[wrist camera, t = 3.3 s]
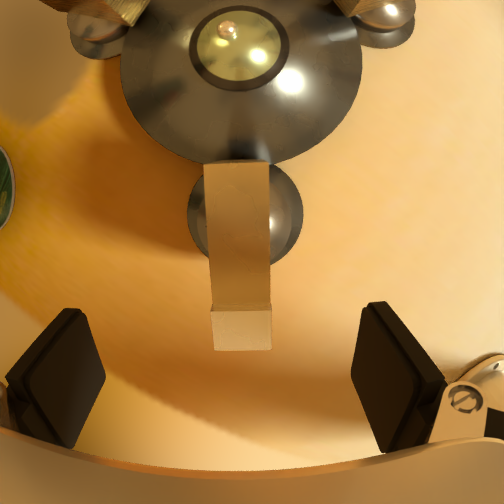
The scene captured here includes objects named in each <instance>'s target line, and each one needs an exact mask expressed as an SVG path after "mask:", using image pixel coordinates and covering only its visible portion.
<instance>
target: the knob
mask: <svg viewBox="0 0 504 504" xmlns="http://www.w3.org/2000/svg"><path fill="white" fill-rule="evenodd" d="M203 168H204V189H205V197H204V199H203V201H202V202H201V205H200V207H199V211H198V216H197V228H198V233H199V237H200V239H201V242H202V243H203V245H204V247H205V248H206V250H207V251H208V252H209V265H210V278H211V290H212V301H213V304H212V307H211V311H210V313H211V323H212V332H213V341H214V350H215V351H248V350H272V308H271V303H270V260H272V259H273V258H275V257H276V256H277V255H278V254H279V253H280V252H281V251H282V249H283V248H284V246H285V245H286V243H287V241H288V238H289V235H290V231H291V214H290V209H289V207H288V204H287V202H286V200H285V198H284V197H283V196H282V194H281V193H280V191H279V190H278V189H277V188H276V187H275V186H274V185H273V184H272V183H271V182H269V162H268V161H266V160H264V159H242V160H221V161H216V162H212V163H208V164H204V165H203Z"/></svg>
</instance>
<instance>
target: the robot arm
mask: <svg viewBox="0 0 504 504" xmlns="http://www.w3.org/2000/svg"><path fill="white" fill-rule="evenodd" d="M5 378H6V380H7V382H8V384H9V385H8V387H7V388H6V386H5V385H4V384H3V383H2V382H0V504H504V355H497V356H493V357H491V358H488V359H486V360H484V361H483V362H481V363H479V364H478V365H476V366H475V367H474V368H472V369H471V370H470V371H468V372H467V373H466V374H465V375H464V376H463V377H461V378H460V379H459V380H458V381H457V382H454V383H451V384H450V385H448V384H447V383H446V381H445V380H444V379H445V377H444V376H443V375H442V373H441V372H440V370H439V369H438V368H437V366H436V365H435V364H434V362H433V361H432V360H431V358H430V357H429V356H428V354H427V353H426V352H425V350H424V349H423V348H422V346H421V345H420V344H419V342H418V341H417V340H416V339H415V337H414V336H413V335H412V333H411V332H410V331H409V330H408V328H407V327H406V326H405V325H404V323H403V322H402V321H401V319H400V318H399V317H398V316H397V314H396V313H395V312H394V311H393V310H392V308H391V307H390V306H389V305H388V303H387V302H385V301H381V302H370V303H368V305H367V307H364V308H363V309H362V313H361V319H360V325H359V331H358V337H357V342H356V347H355V352H354V357H353V362H352V367H351V378H352V381H353V384H354V386H355V389H356V391H357V393H358V396H359V398H360V401H361V403H362V406H363V408H364V411H365V413H366V416H367V418H368V421H369V423H370V426H371V429H372V431H373V434H374V436H375V439H376V442H377V444H378V447H379V449H380V451H381V453H386V454H382V455H378V456H373V457H368V458H363V459H358V460H352V461H346V462H340V463H334V464H328V465H320V466H313V467H304V468H294V469H282V470H265V471H205V470H188V469H175V468H166V467H157V466H150V465H143V464H136V463H130V462H124V461H119V460H114V459H109V458H103V457H99V456H95V455H90V454H86V453H82V452H78V451H74V450H71V449H72V448H73V447H74V446H75V443H76V441H77V439H78V436H79V434H80V432H81V430H82V428H83V426H84V424H85V421H86V419H87V417H88V415H89V413H90V411H91V409H92V407H93V405H94V402H95V400H96V398H97V396H98V394H99V392H100V390H101V388H102V386H103V384H104V382H105V378H106V375H105V370H104V368H103V365H102V362H101V360H100V357H99V354H98V351H97V348H96V345H95V343H94V340H93V336H92V333H91V330H90V327H89V324H88V321H87V317H86V315H85V314H84V313H82V311H81V310H80V309H76V308H65V309H63V310H62V311H61V312H60V313H59V314H58V316H57V317H56V318H55V319H54V320H53V321H52V322H51V323H50V324H49V325H48V326H47V328H46V329H45V330H44V331H43V332H42V333H41V334H40V335H39V336H38V338H37V339H36V340H35V341H34V342H33V343H32V344H31V346H30V347H29V348H28V349H27V350H26V352H25V353H24V354H23V355H22V356H21V357H20V359H19V360H18V361H17V362H16V363H15V365H14V366H13V367H12V368H11V370H10V371H9V372H8V373H7V375H6V376H5Z"/></svg>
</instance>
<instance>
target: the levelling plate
mask: <svg viewBox="0 0 504 504" xmlns="http://www.w3.org/2000/svg"><path fill="white" fill-rule="evenodd" d="M414 25H415V19H414V16H413V17H412V18H411V19H410V20H409V21H408V22H406V23H405V24H404V25H402V26H401V27H400V28H398V29H397V30H395V31H393V32H390V33H374V32H370V31H367V30H364V29H362V28H360V27H358V26H356V25H355V24H353V22H352V20H351V18H350V17H348V18H346V16H345V15H344V14H343V12H342V11H341V10H340V8H339V7H338V6H337V5H336V3H335V2H334V1H333V0H151V1H150V2H149V4H148V5H147V6H146V8H145V9H144V11H143V12H142V14H141V15H140V17H139V18H138V20H137V21H136V23H135V24H134V26H133V27H129V30H128V32H127V34H126V35H124V36H123V37H121V38H120V39H118V40H116V41H113V42H110V43H107V44H100V45H98V44H91V43H89V42H87V41H85V40H83V39H82V38H80V37H78V36H76V35H75V34H73V33H72V32H71V31H70V38H71V42H72V44H73V47H74V48H75V50H76V51H77V52H78V53H80V54H81V55H83V56H85V57H87V58H91V59H108V58H112V57H115V56H118V55H120V54H121V61H120V75H121V83H122V88H123V92H124V95H125V98H126V101H127V104H128V106H129V108H130V110H131V111H132V113H133V115H134V117H135V118H136V120H137V121H138V122H139V124H140V125H141V126H142V128H143V129H144V130H145V131H146V132H147V133H148V134H149V135H150V136H151V137H152V138H153V139H154V140H156V141H157V142H158V143H160V144H161V145H162V146H164V147H165V148H167V149H168V150H170V151H172V152H174V153H175V154H177V155H179V156H182V157H184V158H186V159H189V160H191V161H194V162H198V163H201V164H208V163H212V162H216V161H221V160H242V159H264V160H266V161H268V162H269V182H271V183H272V184H273V185H274V186H275V187H276V188H277V189H278V190H279V191H280V193H281V194H282V196H283V197H284V198H285V200H286V202H287V204H288V207H289V209H290V214H291V231H290V235H289V238H288V241H287V243H286V245H285V246H284V248H283V249H282V251H281V252H280V253H279V254H278V255H277V256H276V257H275V258H273V259H272V260H270V265H272V264H274V263H275V262H277V261H278V260H280V259H281V258H282V257H284V256H285V255H286V254H287V253H288V252H289V251H290V250H291V248H292V247H293V245H294V244H295V242H296V241H297V239H298V237H299V234H300V231H301V228H302V223H303V205H302V200H301V197H300V194H299V192H298V190H297V188H296V186H295V184H294V183H293V181H292V180H291V179H290V177H289V176H288V175H287V174H286V173H285V172H283V171H282V170H281V169H280V168H278V167H277V166H275V165H274V164H276V163H279V162H282V161H285V160H288V159H291V158H293V157H295V156H297V155H299V154H301V153H303V152H305V151H307V150H309V149H310V148H312V147H313V146H315V145H317V144H318V143H320V142H321V141H322V140H323V139H324V138H326V137H327V136H328V135H329V134H330V133H331V132H333V130H334V129H335V128H336V127H337V126H338V125H339V124H340V123H341V121H342V120H343V119H344V117H345V116H346V114H347V113H348V111H349V110H350V108H351V106H352V104H353V102H354V99H355V97H356V95H357V92H358V88H359V85H360V81H361V74H362V51H361V46H360V44H361V45H364V46H368V47H372V48H379V49H387V48H393V47H396V46H399V45H401V44H402V43H404V42H405V41H407V40H408V38H409V37H410V36H411V34H412V32H413V30H414ZM204 197H205V189H204V174H203V175H202V176H201V178H200V179H199V180H198V182H197V183H196V185H195V186H194V188H193V190H192V192H191V195H190V198H189V202H188V208H187V220H188V226H189V229H190V233H191V235H192V237H193V240H194V241H195V243H196V245H197V246H198V247H199V249H200V250H201V251H202V252H203V253H204V254H205V255H206V256H207V257H208V258H209V252H208V251H207V250H206V248H205V247H204V245H203V243H202V242H201V239H200V237H199V233H198V228H197V216H198V211H199V207H200V205H201V202H202V201H203V199H204Z"/></svg>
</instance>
